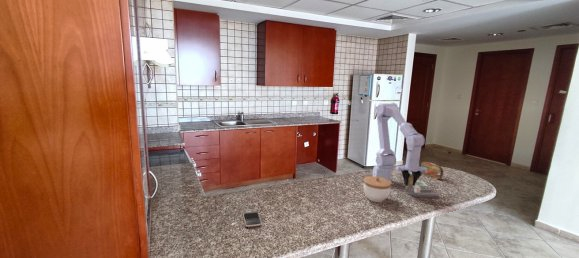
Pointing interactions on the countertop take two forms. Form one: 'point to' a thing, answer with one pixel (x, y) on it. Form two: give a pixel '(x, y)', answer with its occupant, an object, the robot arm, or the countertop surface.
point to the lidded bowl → (376, 188)
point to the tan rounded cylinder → (410, 183)
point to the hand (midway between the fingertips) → (409, 184)
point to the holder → (421, 185)
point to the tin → (432, 170)
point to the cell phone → (252, 219)
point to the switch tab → (417, 189)
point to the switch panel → (424, 193)
